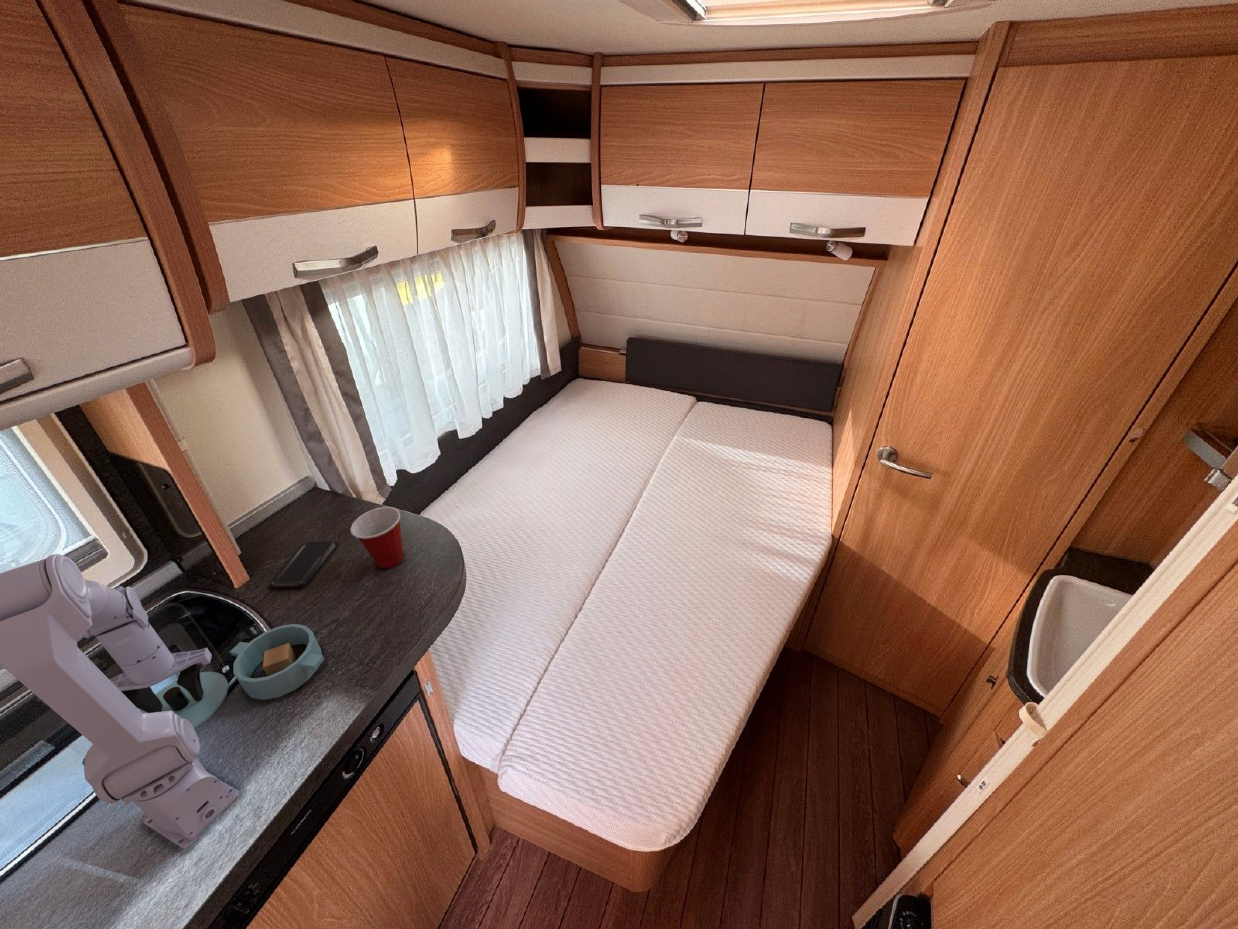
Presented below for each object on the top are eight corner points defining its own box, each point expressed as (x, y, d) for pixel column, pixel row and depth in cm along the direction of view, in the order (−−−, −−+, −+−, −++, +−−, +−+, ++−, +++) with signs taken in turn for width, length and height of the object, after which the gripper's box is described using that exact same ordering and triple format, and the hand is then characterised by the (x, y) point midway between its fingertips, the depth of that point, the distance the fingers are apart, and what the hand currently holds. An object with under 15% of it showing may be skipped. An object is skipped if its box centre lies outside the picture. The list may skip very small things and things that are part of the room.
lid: (179, 754, 82) (165, 737, 80) (113, 739, 85) (98, 723, 83) (248, 681, 94) (237, 665, 91) (187, 670, 96) (176, 654, 94)
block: (296, 657, 97) (289, 642, 95) (296, 672, 94) (288, 658, 92) (272, 665, 96) (264, 651, 94) (271, 682, 93) (262, 667, 91)
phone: (268, 584, 114) (304, 541, 127) (270, 588, 115) (306, 545, 127) (303, 583, 114) (335, 540, 127) (305, 587, 114) (337, 544, 127)
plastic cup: (358, 560, 122) (342, 520, 116) (402, 540, 128) (389, 500, 122) (374, 583, 115) (358, 542, 109) (420, 560, 121) (408, 520, 115)
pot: (302, 709, 88) (290, 689, 86) (216, 692, 92) (202, 673, 89) (349, 650, 99) (340, 630, 96) (270, 637, 102) (260, 618, 100)
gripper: (198, 617, 87) (232, 669, 94) (90, 651, 82) (134, 703, 89) (190, 646, 82) (226, 699, 89) (74, 685, 76) (122, 738, 83)
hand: (180, 704), depth 88 cm, fingers open, 5 cm apart
